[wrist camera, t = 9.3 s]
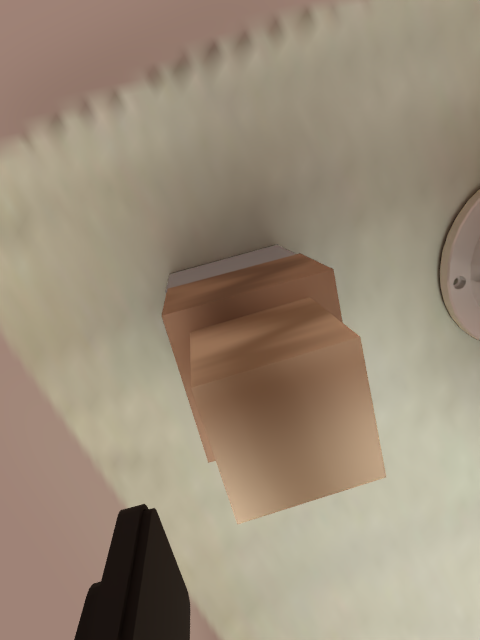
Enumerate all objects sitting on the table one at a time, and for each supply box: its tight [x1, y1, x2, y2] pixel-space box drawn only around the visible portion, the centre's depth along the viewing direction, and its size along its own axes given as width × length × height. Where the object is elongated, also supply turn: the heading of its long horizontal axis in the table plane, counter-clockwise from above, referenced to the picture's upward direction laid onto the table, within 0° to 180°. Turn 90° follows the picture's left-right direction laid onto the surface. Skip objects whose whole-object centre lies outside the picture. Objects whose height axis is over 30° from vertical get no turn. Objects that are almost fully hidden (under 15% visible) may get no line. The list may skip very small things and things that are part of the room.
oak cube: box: [190, 297, 386, 524], centre depth 15 cm, size 5×5×5 cm
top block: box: [162, 253, 343, 463], centre depth 19 cm, size 7×7×5 cm
